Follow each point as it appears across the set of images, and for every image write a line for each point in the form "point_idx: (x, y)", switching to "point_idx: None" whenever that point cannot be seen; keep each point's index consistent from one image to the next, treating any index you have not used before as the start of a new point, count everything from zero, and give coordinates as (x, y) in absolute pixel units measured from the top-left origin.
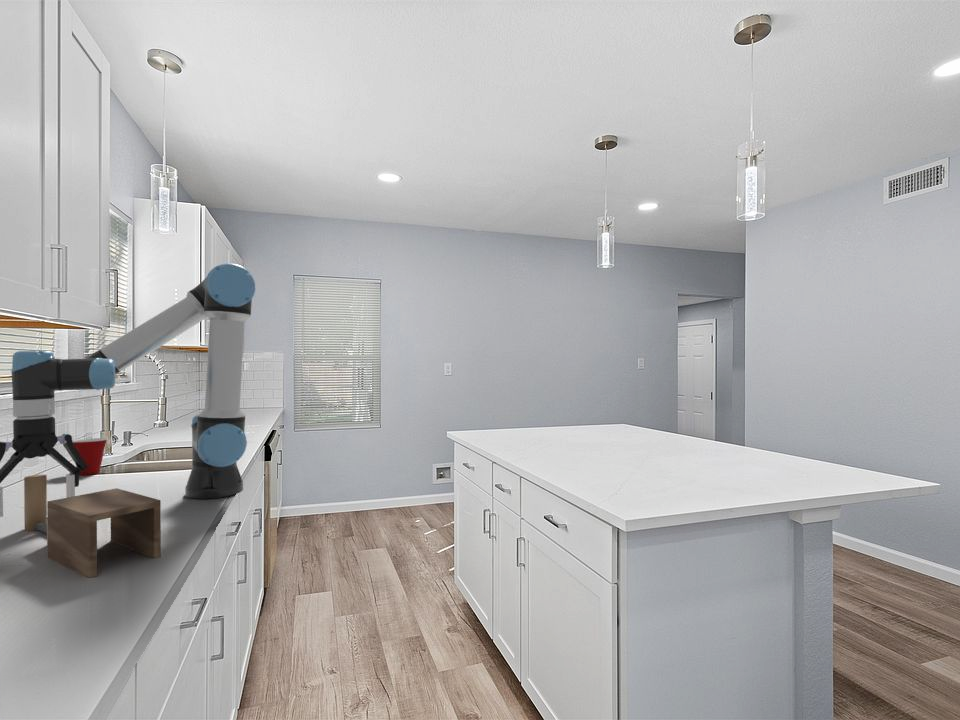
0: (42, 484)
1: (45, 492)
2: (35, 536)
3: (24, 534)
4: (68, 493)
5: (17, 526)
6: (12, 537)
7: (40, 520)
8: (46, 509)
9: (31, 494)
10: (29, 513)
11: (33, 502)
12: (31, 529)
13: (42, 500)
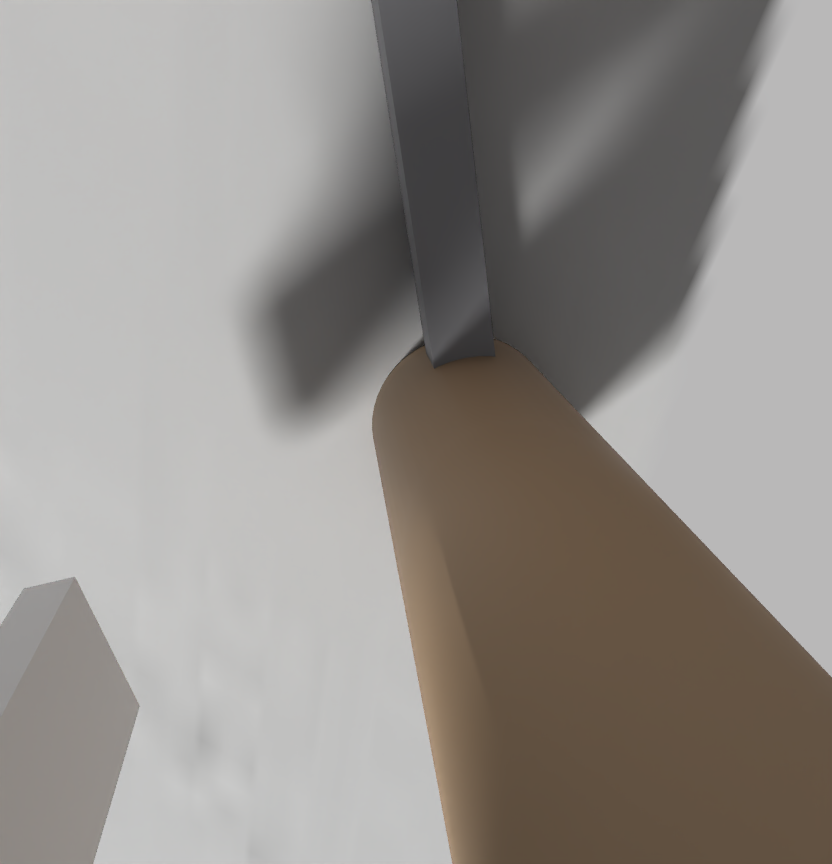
0: (620, 776)
1: (466, 645)
2: (532, 49)
3: (586, 248)
4: (75, 761)
5: None
6: (688, 214)
7: (456, 368)
8: (399, 482)
9: (730, 577)
10: (593, 429)
11: (620, 481)
12: (513, 349)
13: (493, 504)
